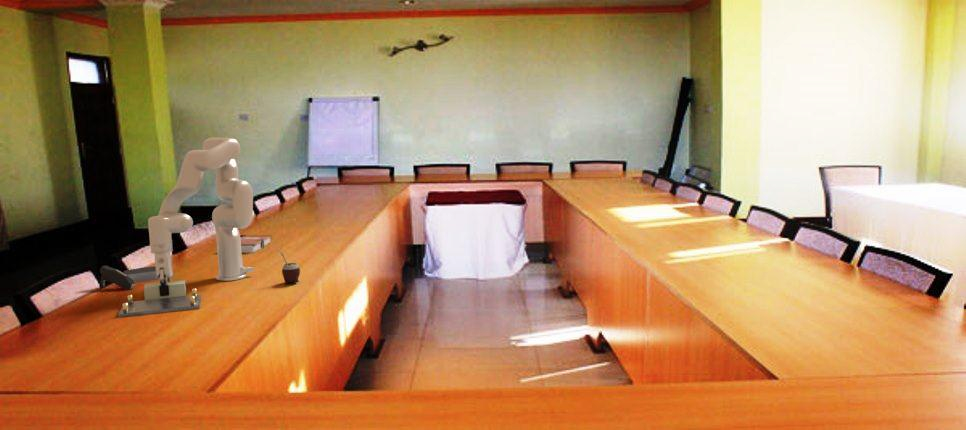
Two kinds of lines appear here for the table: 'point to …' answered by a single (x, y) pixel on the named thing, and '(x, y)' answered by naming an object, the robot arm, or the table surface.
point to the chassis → (160, 305)
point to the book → (253, 243)
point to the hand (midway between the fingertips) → (165, 292)
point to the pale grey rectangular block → (174, 290)
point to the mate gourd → (290, 272)
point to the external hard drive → (143, 274)
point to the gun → (115, 278)
